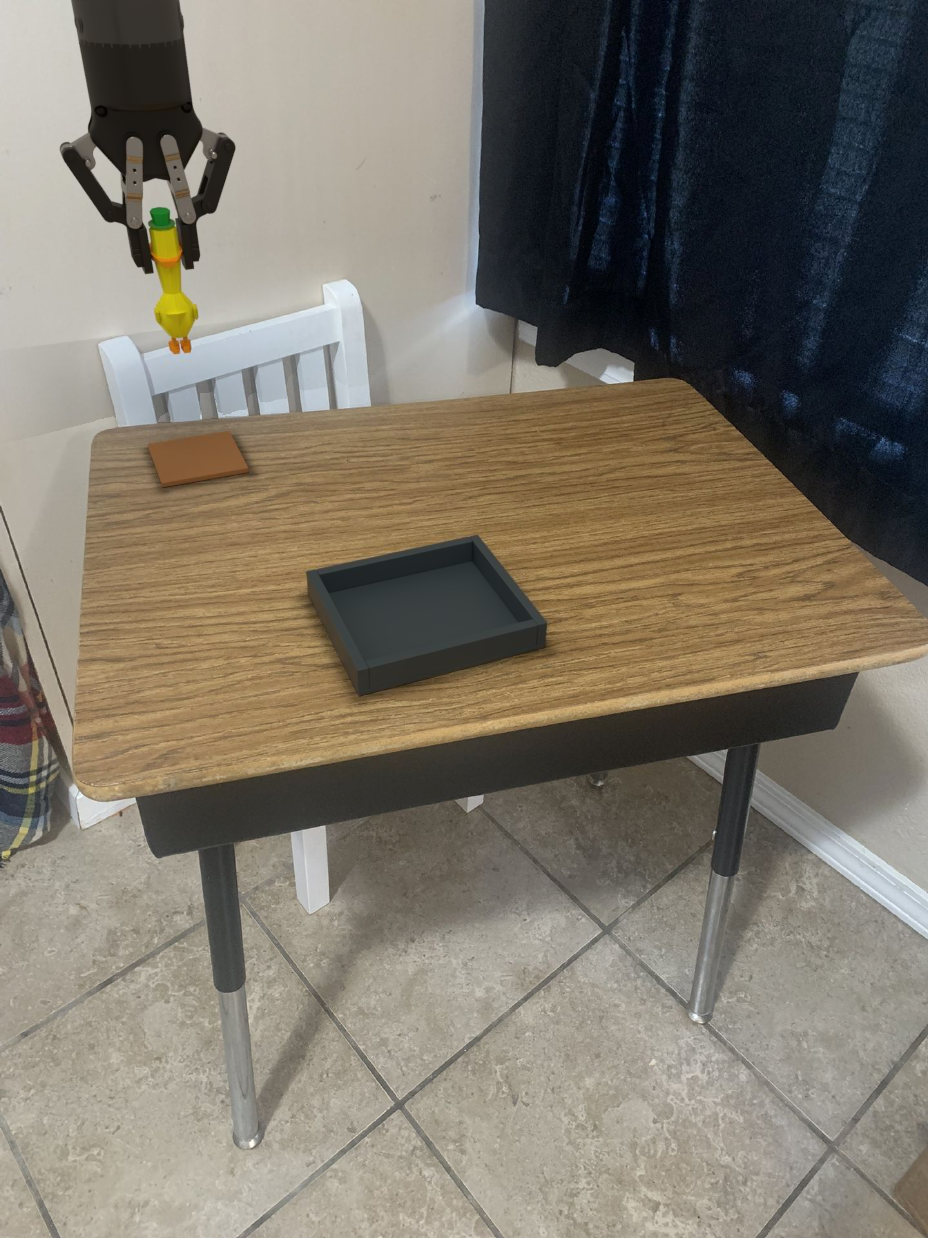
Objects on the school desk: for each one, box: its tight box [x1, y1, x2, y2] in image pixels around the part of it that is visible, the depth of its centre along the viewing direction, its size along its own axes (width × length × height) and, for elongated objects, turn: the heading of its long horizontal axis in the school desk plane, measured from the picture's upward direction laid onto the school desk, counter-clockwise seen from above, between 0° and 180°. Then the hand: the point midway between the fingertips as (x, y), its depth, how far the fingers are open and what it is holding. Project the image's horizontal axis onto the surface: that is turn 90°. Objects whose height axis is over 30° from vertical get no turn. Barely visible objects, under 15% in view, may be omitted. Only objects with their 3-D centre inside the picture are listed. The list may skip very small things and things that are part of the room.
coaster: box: [147, 430, 250, 488], centre depth 93 cm, size 8×8×1 cm
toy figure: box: [147, 206, 199, 355], centre depth 83 cm, size 7×4×12 cm, turn 20°
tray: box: [305, 534, 548, 697], centre depth 74 cm, size 15×13×2 cm
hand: (167, 267), depth 82 cm, fingers closed on toy figure, 2 cm apart
